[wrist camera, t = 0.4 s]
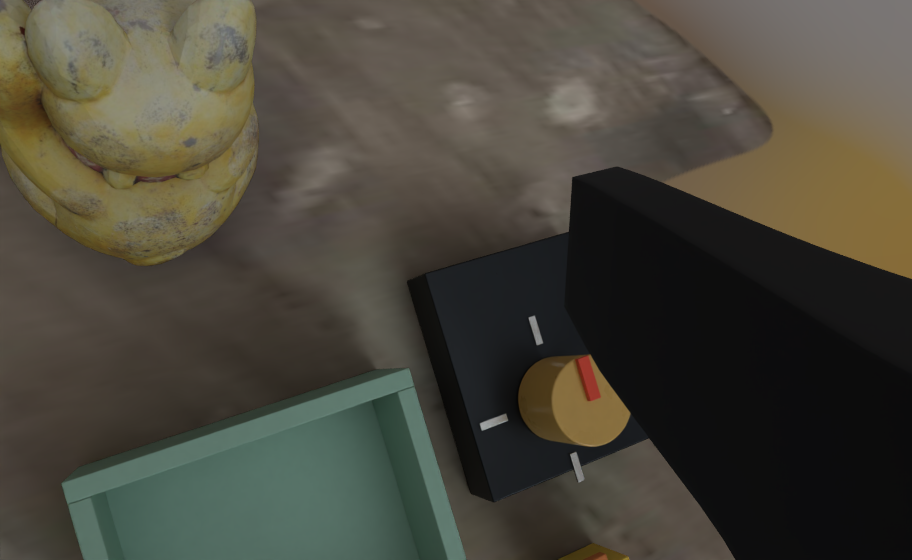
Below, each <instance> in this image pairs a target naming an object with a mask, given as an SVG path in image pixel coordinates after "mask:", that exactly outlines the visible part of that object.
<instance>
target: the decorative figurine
mask: <svg viewBox="0 0 912 560" xmlns="http://www.w3.org/2000/svg"><path fill="white" fill-rule="evenodd" d="M255 40H256V13H255V9H254V5H253V3H252V2H251V0H41V1H39V2H38V3H37V4H36V5H35V6H34V8H33V9H32V10H31V9H30V8H29V6H28V5H27V4H26V3H25V2H24V1H23V0H0V145H1V150H2V156H3V159H4V161H5V164H6V167H7V169H8V172H9V174H10V177H11V179H12V180H13V182H14V183H15V185H16V186H17V188H18V189H19V191H20V192H21V193H22V195H23V196H24V198H25V199H26V200H27V201H28V202H29V204H30V205H31V206H32V207H33V208H34V209H35V210H36V211H37V212H38V213H39V214H41V215H42V216H43V217H44V218H46V219H47V220H48V221H49V222H50V223H52V224H53V225H54V226H55V227H57V228H58V229H59V230H60V231H62V232H63V233H64V234H66V235H68V236H69V237H71V238H72V239H74V240H76V241H77V242H79V243H81V244H82V245H84V246H86V247H89V248H91V249H93V250H96V251H98V252H101V253H104V254H108V255H111V256H114V257H119V258H123V259H125V260H126V261H128V262H129V263H132V264H134V265H137V266H151V265H157V264H162V263H165V262H167V261H169V260H172V259H174V258H176V257H178V256H180V255H182V254H183V253H184V252H186V251H187V250H189V249H192V248H194V247H196V246H197V245H199V244H200V243H202V242H203V241H205V240H206V239H207V238H209V237H210V236H211V235H213V234H214V233H215V231H216V230H217V229H218V228H219V227H220V226H221V225H222V224H223V223H224V222H225V221H226V219H227V218H228V217H229V215H230V214H231V213H232V211H233V210H234V209H235V207H236V206H237V205H238V203H239V201H240V199H241V198H242V196H243V194H244V192H245V190H246V188H247V186H248V184H249V182H250V180H251V178H252V176H253V173H254V171H255V169H256V163H257V157H258V143H259V124H258V118H257V114H256V111H255V108H254V105H253V98H254V75H253V68H252V63H251V61H252V56H253V51H254V45H255Z"/></svg>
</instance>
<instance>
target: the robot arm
mask: <svg viewBox="0 0 912 560" xmlns="http://www.w3.org/2000/svg"><path fill="white" fill-rule="evenodd" d="M564 307H565V309H566V311H567V313H568V314H569V316H570V318H571V320H572V322H573V324H574V326H575V328H576V330H577V332H578V333H579V335H580V337H581V339H582V341H583V343H584V345H585V346H586V348H587V350H588V352H589V353H590V355H591V357H592V359H593V360H594V362H595V364H596V366H597V367H598V369H599V371H600V372H601V373H602V375H603V376H604V378H605V379H606V380H607V382H608V383H609V385H610V386H611V387H612V389H613V390H614V391H615V393H616V394H617V395H618V397H619V398H620V400H621V401H622V402H623V404H624V405H625V406H626V408H627V409H628V410H629V412H630V413H631V414H632V416H633V417H634V419H635V420H636V421H637V422H638V424H639V425H640V426H641V428H642V429H643V430H644V432H645V433H646V434H647V436H648V437H649V438H650V440H651V441H652V442H653V444H654V445H655V446H656V448H657V449H658V450H659V452H660V453H661V454H662V456H663V457H664V458H665V460H666V461H667V462H668V464H669V465H670V466H671V468H672V469H673V470H674V472H675V473H676V474H677V476H678V477H679V478H680V480H681V481H682V482H683V484H684V485H685V486H686V488H687V489H688V490H689V492H690V493H691V494H692V496H693V497H694V498H695V500H696V501H697V502H698V503H699V505H700V506H701V508H702V509H703V510H704V512H705V513H706V515H707V516H708V518H709V519H710V521H711V522H712V524H713V525H714V526H715V528H716V529H717V531H718V532H719V534H720V535H721V537H722V538H723V540H724V541H725V543H726V545H727V546H728V548H729V550H730V551H731V553H732V555H733V556H734V558H735V560H912V279H910V278H907V277H903V276H900V275H897V274H894V273H891V272H888V271H885V270H882V269H879V268H877V267H874V266H871V265H868V264H865V263H863V262H860V261H857V260H854V259H851V258H848V257H846V256H843V255H840V254H837V253H835V252H832V251H829V250H826V249H823V248H821V247H818V246H815V245H813V244H810V243H808V242H805V241H803V240H800V239H797V238H795V237H792V236H789V235H787V234H785V233H782V232H780V231H777V230H775V229H772V228H770V227H767V226H765V225H762V224H760V223H758V222H755V221H752V220H750V219H748V218H745V217H743V216H741V215H738V214H736V213H734V212H731V211H729V210H726V209H724V208H721V207H719V206H717V205H714V204H712V203H710V202H707V201H705V200H702V199H700V198H698V197H695V196H693V195H691V194H688V193H686V192H684V191H681V190H679V189H676V188H674V187H671V186H669V185H667V184H664V183H662V182H659V181H657V180H654V179H652V178H649V177H646V176H644V175H641V174H638V173H635V172H633V171H630V170H626V169H623V168H620V167H613V168H609V169H605V170H600V171H596V172H592V173H588V174H584V175H579V176H575V177H572V193H571V208H570V224H569V239H568V255H567V270H566V286H565V301H564Z"/></svg>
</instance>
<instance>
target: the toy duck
mask: <svg viewBox="0 0 912 560" xmlns="http://www.w3.org/2000/svg"><path fill="white" fill-rule="evenodd" d="M557 560H629V557H628V556H626V555H623V554H621V553H618V552H615V551H613V550H610V549H607V548H605V547H602V546H600V545H597V544H594V543H592V544H590V545H588V546H586V547H584V548H581V549H579V550H577V551H575V552H573V553H570V554H568V555H566V556H564V557H562V558H560V559H557Z"/></svg>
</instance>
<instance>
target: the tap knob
mask: <svg viewBox="0 0 912 560" xmlns="http://www.w3.org/2000/svg"><path fill="white" fill-rule="evenodd" d="M518 403H519V409H520V413H521V416H522V418H523V420H524V422H525V423H526V425H527V426H528V428H529V429H530V430H531V431H532V432H533V433H535V434H536V435H537V436H539V437H541V438H543V439H546V440H549V441H556V442H562V443H568V444H575V445H581V446H588V447H596V446H601V445H604V444H607V443H609V442H611V441H612V440H613V439H615V438H616V437H617V436H618V435H619V434H620V433H621V432H622V431H623V429H624V428H625V426H626V424H627V422H628V420H629V417H630V412H629V410H628V409H627V408H626V406H625V405H624V404H623V402H622V401H621V400H620V398H619V397H618V395H617V394H616V393H615V391H614V390H613V389H612V387H611V386H610V385H609V383H608V382H607V380H606V379H605V378H604V376H603V375H602V373H601V372H600V371H599V369H598V367H597V366H596V364H595V362H594V360H593V359H592V357H591V355H590V354H587V355H571V356H555V357H548V358H544V359H542V360H540V361H538V362H536V363H535V364H534V365H533V366H531V367H530V369H529V370H528V371H527V372H526V374H525V375H524V377H523V379H522V381H521V384H520V388H519V394H518Z"/></svg>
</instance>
